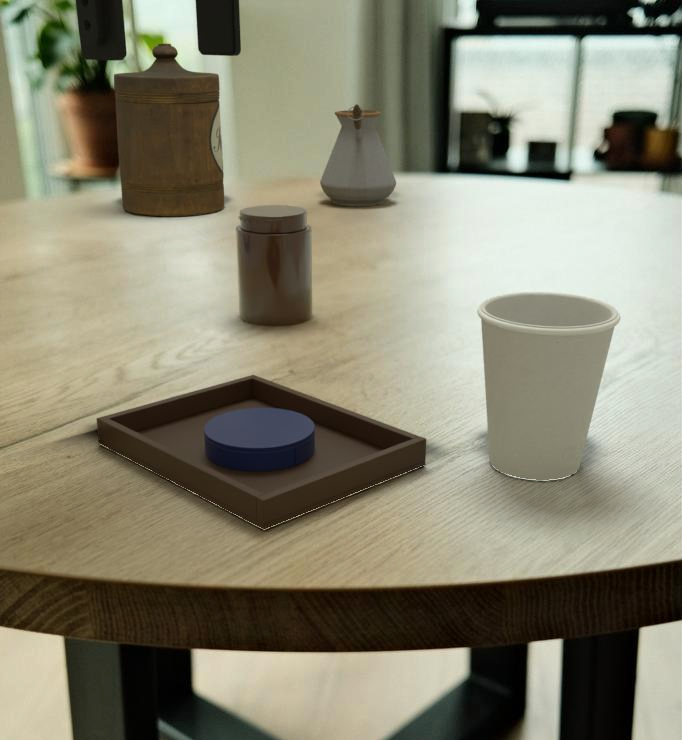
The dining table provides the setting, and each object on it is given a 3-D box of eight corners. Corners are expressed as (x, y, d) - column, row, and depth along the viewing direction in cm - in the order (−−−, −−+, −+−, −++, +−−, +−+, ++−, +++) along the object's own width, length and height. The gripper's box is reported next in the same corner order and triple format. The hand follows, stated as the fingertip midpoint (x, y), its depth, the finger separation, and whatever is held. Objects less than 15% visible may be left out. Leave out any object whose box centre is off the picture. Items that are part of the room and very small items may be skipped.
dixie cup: (441, 459, 65) (448, 306, 61) (527, 429, 70) (540, 284, 66) (541, 503, 59) (557, 336, 55) (628, 467, 64) (650, 311, 60)
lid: (338, 451, 65) (338, 428, 65) (252, 482, 61) (251, 457, 60) (267, 422, 70) (266, 400, 69) (183, 448, 66) (181, 425, 65)
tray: (98, 444, 67) (95, 418, 67) (254, 398, 76) (253, 374, 75) (264, 531, 56) (263, 500, 55) (425, 466, 64) (426, 438, 63)
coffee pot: (322, 195, 160) (321, 93, 153) (395, 196, 159) (398, 93, 153) (313, 220, 141) (312, 104, 134) (396, 221, 140) (399, 104, 134)
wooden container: (244, 209, 148) (238, 43, 139) (154, 220, 140) (141, 45, 130) (191, 196, 159) (182, 41, 149) (105, 206, 151) (89, 43, 141)
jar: (225, 327, 93) (219, 210, 88) (280, 314, 97) (277, 201, 92) (271, 343, 88) (268, 220, 84) (327, 328, 92) (327, 211, 88)
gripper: (58, -347, 46) (97, 64, 54) (297, -270, 59) (301, 55, 66) (-41, -318, 50) (8, 60, 58) (202, -252, 63) (217, 52, 70)
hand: (165, 57), depth 62 cm, fingers open, 9 cm apart
